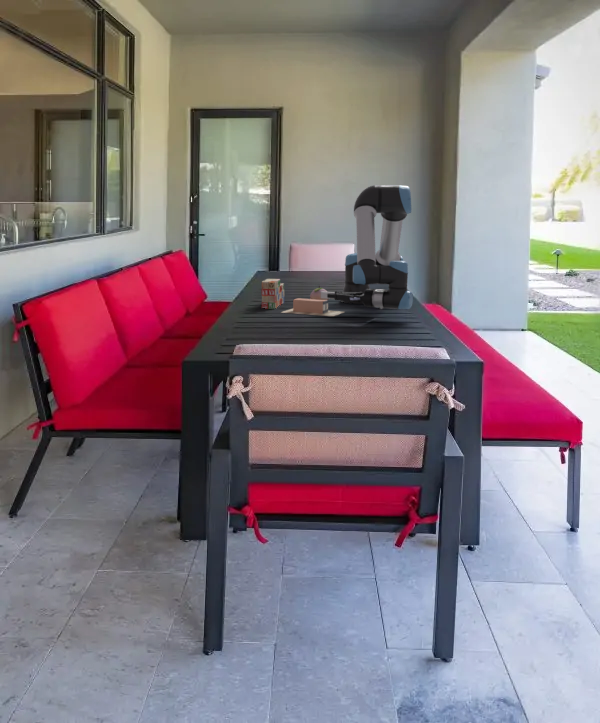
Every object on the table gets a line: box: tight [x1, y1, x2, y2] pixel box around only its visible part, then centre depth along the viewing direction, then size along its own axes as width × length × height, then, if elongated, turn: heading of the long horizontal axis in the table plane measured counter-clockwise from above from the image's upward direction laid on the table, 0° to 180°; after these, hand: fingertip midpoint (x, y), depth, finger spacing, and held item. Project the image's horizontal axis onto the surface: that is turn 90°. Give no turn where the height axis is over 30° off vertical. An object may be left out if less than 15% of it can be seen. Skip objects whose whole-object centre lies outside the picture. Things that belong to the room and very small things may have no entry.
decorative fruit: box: [309, 285, 330, 301], centre depth 343 cm, size 9×8×10 cm
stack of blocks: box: [261, 278, 285, 310], centre depth 349 cm, size 21×6×12 cm, turn 170°
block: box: [292, 297, 329, 314], centre depth 326 cm, size 5×5×14 cm
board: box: [280, 308, 345, 317], centre depth 325 cm, size 24×14×1 cm, turn 67°
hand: (321, 294), depth 323 cm, fingers closed
